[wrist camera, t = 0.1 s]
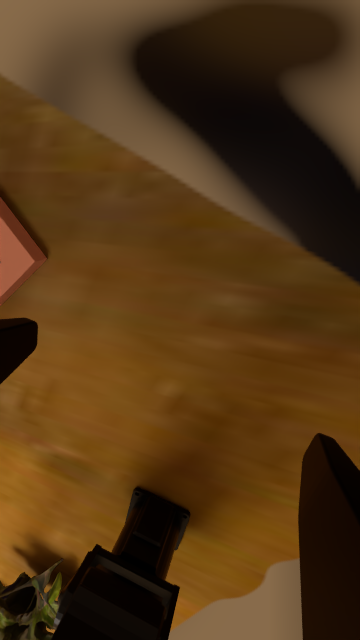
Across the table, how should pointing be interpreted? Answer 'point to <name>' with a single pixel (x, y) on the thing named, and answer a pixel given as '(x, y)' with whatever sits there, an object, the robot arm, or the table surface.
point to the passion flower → (29, 607)
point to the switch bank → (15, 253)
